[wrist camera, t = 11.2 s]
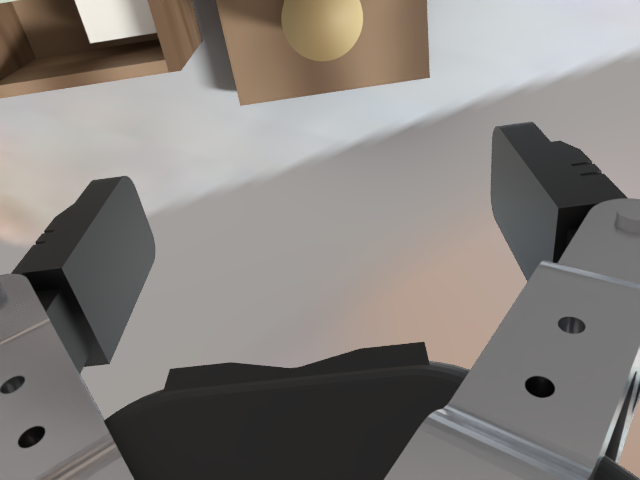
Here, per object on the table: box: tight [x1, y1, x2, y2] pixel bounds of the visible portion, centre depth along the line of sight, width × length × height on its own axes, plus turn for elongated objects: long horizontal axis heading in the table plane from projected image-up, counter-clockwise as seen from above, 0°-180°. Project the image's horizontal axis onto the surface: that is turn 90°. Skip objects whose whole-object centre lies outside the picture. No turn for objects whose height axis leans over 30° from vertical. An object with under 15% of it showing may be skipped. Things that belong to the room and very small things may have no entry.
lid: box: [216, 0, 430, 106], centre depth 27 cm, size 11×10×7 cm
